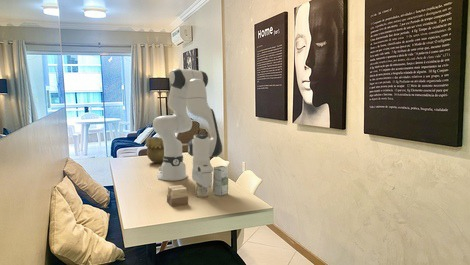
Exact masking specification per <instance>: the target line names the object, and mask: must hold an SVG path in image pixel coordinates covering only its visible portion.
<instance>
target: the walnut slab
mask: <svg viewBox="0 0 470 265" xmlns="http://www.w3.org/2000/svg"><path fill="white" fill-rule="evenodd" d="M166 202H167V204H168V205H169V206H170V207H172V208H173V207H180V206H186V205H188V206H189V196H188V195H187V197H181V198H174V199H173V198H171V197H170V196H169V195H168V193H167V194H166Z"/></svg>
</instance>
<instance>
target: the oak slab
mask: <svg viewBox="0 0 470 265" xmlns="http://www.w3.org/2000/svg"><path fill="white" fill-rule="evenodd" d="M167 194H168V195H169V196H170V197H171V198H173V199H174V198H181V197H187V196H188V188H187V187H185V186H184V185H182V184H179V185H171V186H167Z"/></svg>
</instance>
